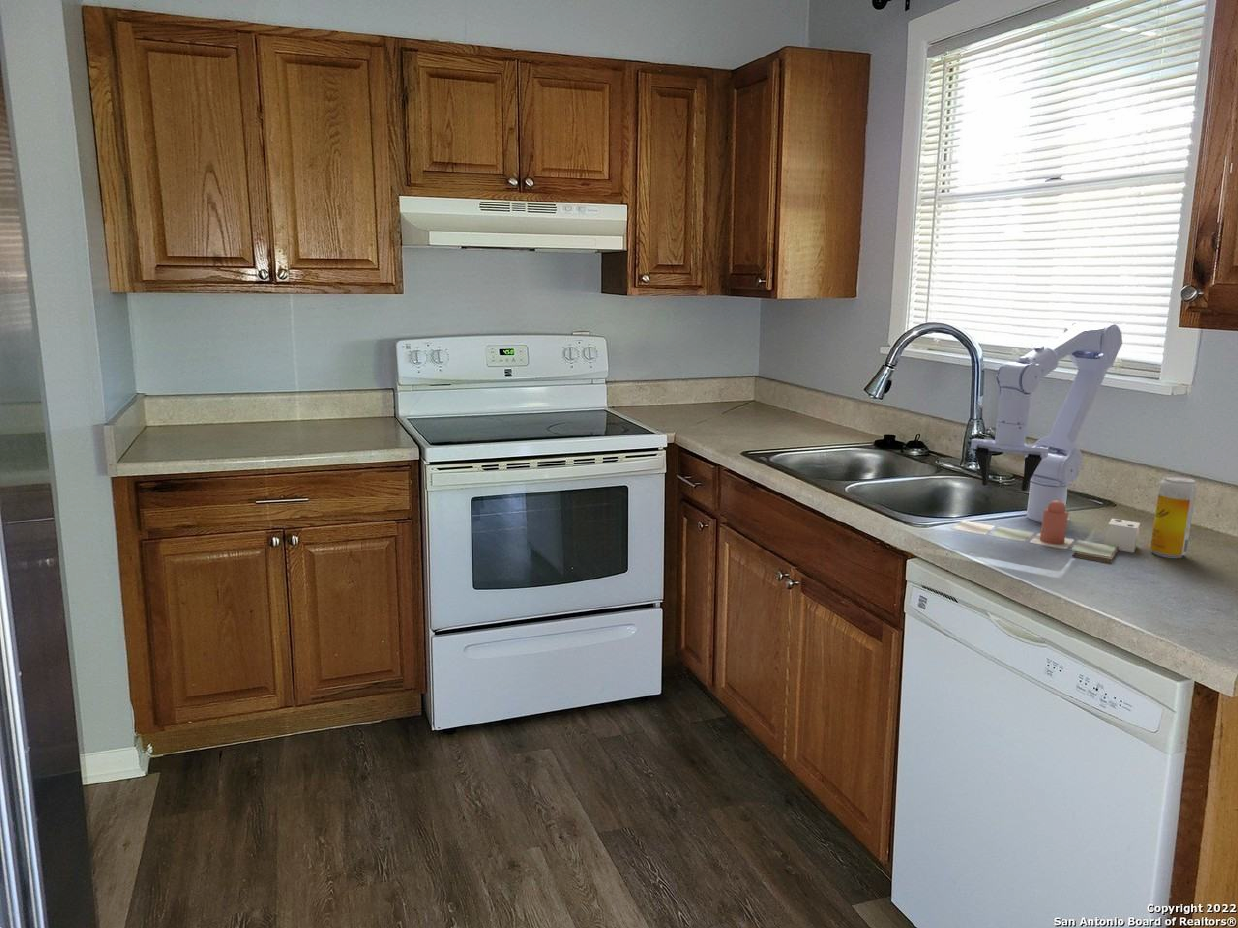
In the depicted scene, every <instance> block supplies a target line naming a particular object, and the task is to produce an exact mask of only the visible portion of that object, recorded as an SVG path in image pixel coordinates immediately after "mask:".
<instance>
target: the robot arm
mask: <svg viewBox="0 0 1238 928" xmlns="http://www.w3.org/2000/svg"><path fill="white" fill-rule="evenodd" d="M1122 337H1123V335H1122V331H1121V328H1120V326H1118V325H1117V324H1115V323H1110V324H1108V323H1107V324H1106V323H1105V324H1102V323H1090V322H1080V321H1072V322H1070V323H1069V324H1068V325H1065V327H1064V329H1063V334H1062V335H1060V336H1058V338H1057V339H1055V341H1053V342H1051V344H1050V345H1048V346H1046V345H1038V344H1037V345H1035V346H1034V347H1033V350H1031V351H1029V352H1028V353H1027V354H1025V355H1022V356H1021V357H1019V359H1017V360H1016V361H1013V362H1011V361H1008V362H1005V363H1004V364H1003V365H1000V367H999V368H998V370H997V374H996V375H995V385H996V387H997V393H996V394H997V398H999V403H998V409H997V410H998V412H997V420H996V428H995V429H996V430H995V436H994V437H995V439H986V438H985V439H983V438H973V439H971V445H970V449H971V450H975V451H974V457H975V459H976V461H977V464H978V467H979V471H980V474H981V475H980V476H981V482H982V484H981V485H982V486H986V487H987V485H989V482H990V481H989V480H990V468H991V462H992V456H993V452H998V453H999V452H1000V453H1007V454H1014V455H1015V454H1016V455H1023V456H1025V457H1024V460H1023V469H1024V470H1023V479H1022V483H1021V492H1027V491H1028V487H1029V492H1028V493H1029V494H1028V503H1027V510H1026V518H1028V520H1031V521H1035V522H1040V523H1042V520H1043V512H1044V509H1048V505H1049V503H1050V502H1052V501H1055V500H1057V501H1061V502H1062V503H1063V504H1064V505H1065V506H1066V504H1067V503H1066V502H1067V495H1068V487H1069V486H1072V484H1073V483H1074V482H1075V481H1076V479H1078V477H1079V473H1080V470H1081V464H1082V460H1083V457H1084V456H1083V453H1082V452H1081V450H1080V448H1078V446H1077V445H1076V442H1077V440H1078V438H1079V435H1080V433H1081V431H1082V428H1083V426H1084V424H1085V422H1086V420H1087V417H1088V415H1089V413H1090V410H1091V409H1092V406H1093V403H1094V401H1095V399H1096V397H1097V395H1098V392H1099V390H1100V388H1101V385H1102V383H1103V380H1104V379H1105V377H1106V375H1107V371H1108V369H1110V368H1112V367H1113V365H1114V363H1115V361H1116V359H1117V356H1118V354H1119V351H1120V350H1121V347H1122V345H1123V339H1122ZM1067 356H1069V359H1070V361H1071V363H1072V364H1073V365H1074V366H1076V367H1077V369H1078V371H1077V372H1076V375H1075V377H1074V379H1073V381H1072V384H1071V386H1070V388H1069V391H1068V393H1067V395H1066V397H1065V400H1064V401H1063V404H1062V406H1061V408H1060V411H1059V412H1058V413H1059V414H1058V415H1057V418H1056V419H1055V422H1054V424H1053V426H1052V429H1051V431H1050V433H1049V434H1048V435H1047V436H1044V437H1042V438H1039V439H1038V440H1037V439H1036V440H1035V442H1034V444H1029V443H1026V440H1027V439H1026V438H1027V430H1028V423H1029V414H1030V413H1029V412H1030V408H1031V407H1030V405H1031V397H1032V393H1034V392H1036V391H1037V388H1038V387H1039V385H1040V383H1041V382H1042V380H1043V378H1044V377H1046V376H1047V375H1049V374H1052V372H1054V371H1055V370H1057V368H1058V366H1059V364H1060V363H1059V361H1060V360H1062V359H1064V358H1066V357H1067ZM1029 484H1030V486H1029ZM1069 519H1070V518H1069V517H1068V520H1067V521H1069Z"/></svg>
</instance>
